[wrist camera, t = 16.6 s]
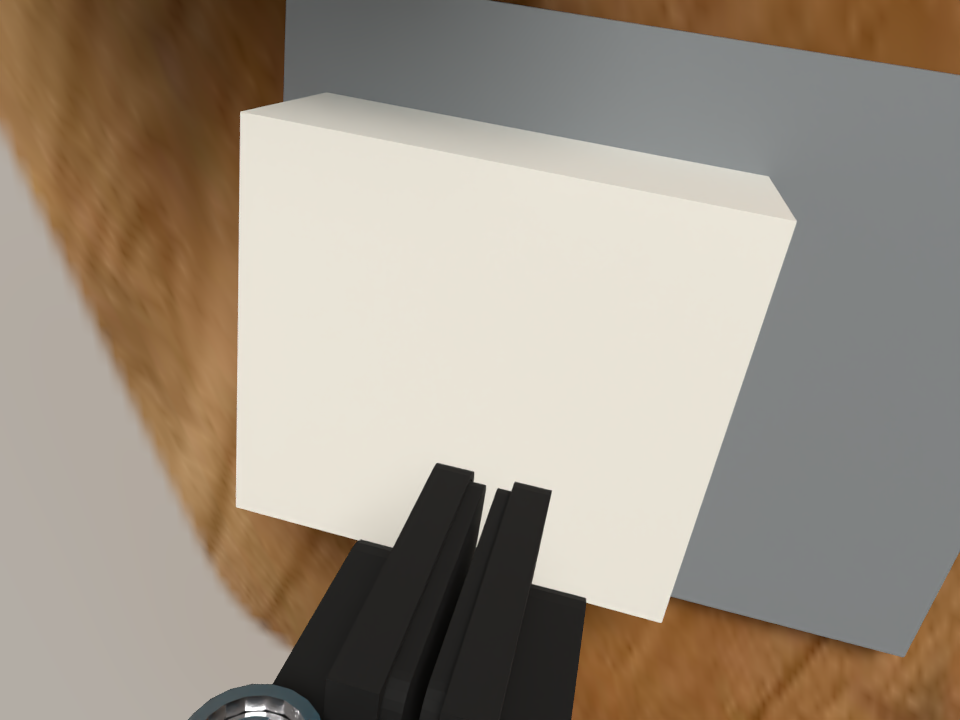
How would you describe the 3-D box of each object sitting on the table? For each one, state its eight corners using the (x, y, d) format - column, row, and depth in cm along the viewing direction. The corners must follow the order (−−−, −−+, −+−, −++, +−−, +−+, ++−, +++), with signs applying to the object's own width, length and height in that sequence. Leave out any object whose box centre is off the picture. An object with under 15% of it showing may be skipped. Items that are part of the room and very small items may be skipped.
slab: (796, 221, 13) (240, 111, 14) (661, 623, 17) (236, 507, 18) (768, 176, 16) (326, 92, 18) (662, 516, 20) (307, 425, 22)
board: (1159, 106, 15) (1190, 112, 14) (894, 630, 21) (903, 657, 20) (306, -30, 18) (286, -32, 17) (287, 474, 24) (272, 491, 23)
